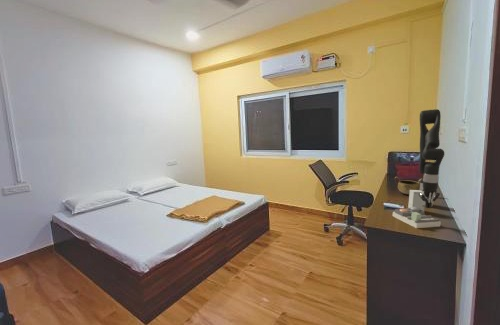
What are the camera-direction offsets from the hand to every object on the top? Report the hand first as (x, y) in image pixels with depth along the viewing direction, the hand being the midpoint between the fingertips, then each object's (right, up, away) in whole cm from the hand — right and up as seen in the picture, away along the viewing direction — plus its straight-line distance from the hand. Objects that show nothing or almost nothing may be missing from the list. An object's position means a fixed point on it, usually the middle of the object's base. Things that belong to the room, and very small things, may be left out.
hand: (428, 207), depth 150 cm
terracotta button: (-10, -5, +8) cm, 14 cm away
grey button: (-2, -4, +9) cm, 10 cm away
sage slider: (-10, -7, -3) cm, 12 cm away
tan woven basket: (+29, 0, +63) cm, 70 cm away
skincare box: (+7, -7, +22) cm, 24 cm away
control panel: (-5, -9, +4) cm, 11 cm away
